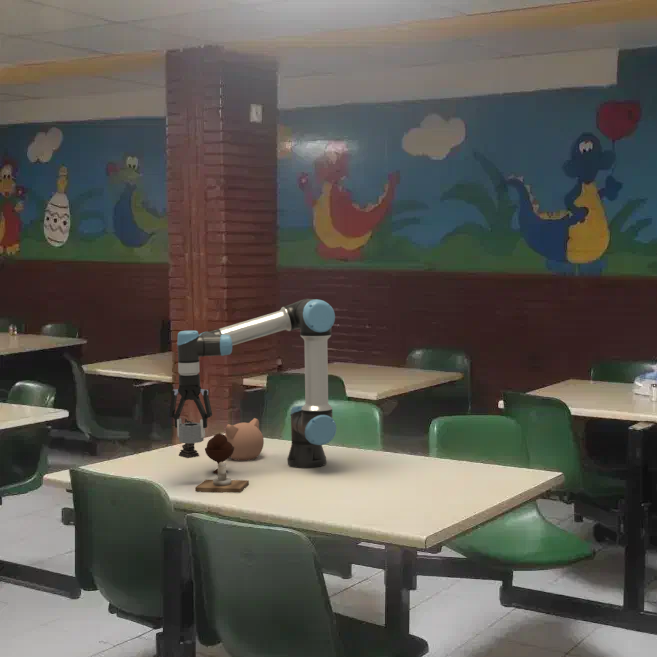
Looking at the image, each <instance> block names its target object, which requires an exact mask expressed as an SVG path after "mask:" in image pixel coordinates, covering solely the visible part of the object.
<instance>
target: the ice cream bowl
mask: <svg viewBox="0 0 657 657" xmlns="http://www.w3.org/2000/svg"><path fill="white" fill-rule="evenodd" d="M204 450H205V451H204V452H205V455H206V456H207V457H208V458H209V459H210V460H213V462H216V463H217V465H218V464H219V463H220V462H225V461H227V460H228V459H229V458H231V457H230V456H231V455H232V454H233V451H234V447H233V446H232V444H231V443H230V442H228V441H227V437H226V436H225V434H223V433H217V434H214V435H213V437H211V438H210V439H209V440H208V441H207V443H206V447H204ZM227 473H228V470H227V469H226V474H227ZM212 474H215V475H218V467H217V468H215V469H214V470H213V471H212Z"/></svg>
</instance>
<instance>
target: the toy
mask: <svg viewBox="0 0 657 657" xmlns="http://www.w3.org/2000/svg"><path fill="white" fill-rule="evenodd" d="M224 435H225V436H226V437H227V441H228V442H230V443H231V444H232V446H233V447H234V451H233V454H232V455H231V456H230V457H229V458H231V459H232V460H233V461H251V460H255V459H256V458H258V457H259V456H260V454H261V452H262V451H263V449H264V444H265V442H264V435H263V433H262V431H261V430H260V421H259V419H258V418H256V417H253V419H252V420H250V421H249V422H238V423H235V424H229V423H228V424H227V425H226V427H225V434H224Z"/></svg>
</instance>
